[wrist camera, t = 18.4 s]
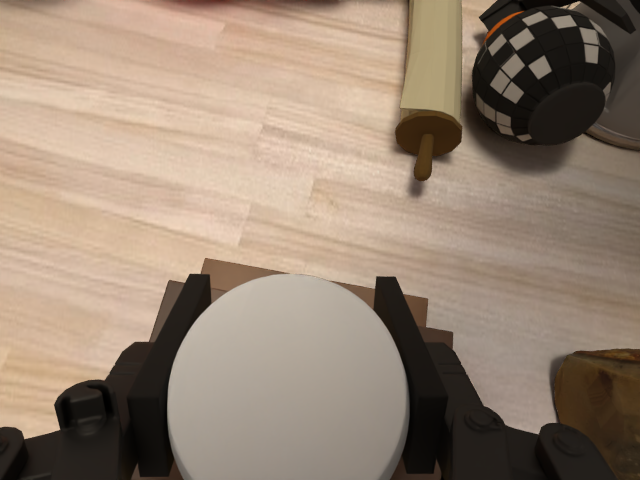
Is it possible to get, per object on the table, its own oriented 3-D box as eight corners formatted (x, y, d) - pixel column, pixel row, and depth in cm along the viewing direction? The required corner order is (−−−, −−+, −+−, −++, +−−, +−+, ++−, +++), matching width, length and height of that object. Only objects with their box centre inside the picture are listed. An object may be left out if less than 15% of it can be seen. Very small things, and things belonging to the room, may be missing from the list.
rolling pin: (448, 201, 33) (473, 166, 29) (377, 191, 33) (391, 154, 29) (454, -65, 46) (472, -119, 41) (402, -72, 46) (414, -127, 41)
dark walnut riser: (411, 313, 30) (456, 273, 22) (394, 509, 26) (442, 554, 17) (215, 277, 30) (186, 223, 22) (162, 466, 26) (100, 489, 17)
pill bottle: (354, 503, 18) (447, 633, 7) (200, 474, 18) (57, 561, 7) (373, 344, 20) (462, 262, 9) (237, 320, 20) (174, 211, 10)
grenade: (693, 87, 29) (586, -9, 38) (649, -9, 23) (537, -94, 33) (534, 186, 35) (476, 83, 44) (471, 128, 30) (419, 24, 39)
